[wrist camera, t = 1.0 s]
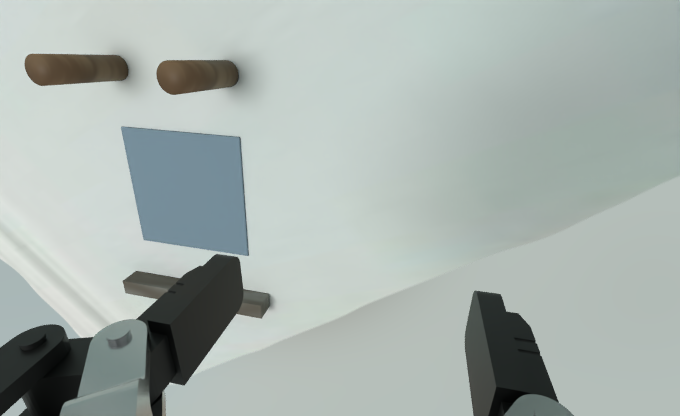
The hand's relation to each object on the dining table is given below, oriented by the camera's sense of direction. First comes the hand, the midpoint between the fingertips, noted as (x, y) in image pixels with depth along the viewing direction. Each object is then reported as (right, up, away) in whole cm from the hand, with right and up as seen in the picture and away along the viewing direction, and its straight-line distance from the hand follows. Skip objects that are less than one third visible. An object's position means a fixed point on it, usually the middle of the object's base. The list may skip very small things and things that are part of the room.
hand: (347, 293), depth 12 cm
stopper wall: (-19, -8, +37) cm, 43 cm away
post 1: (-25, +18, +27) cm, 41 cm away
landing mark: (-19, +5, +31) cm, 37 cm away
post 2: (-12, +17, +25) cm, 32 cm away
